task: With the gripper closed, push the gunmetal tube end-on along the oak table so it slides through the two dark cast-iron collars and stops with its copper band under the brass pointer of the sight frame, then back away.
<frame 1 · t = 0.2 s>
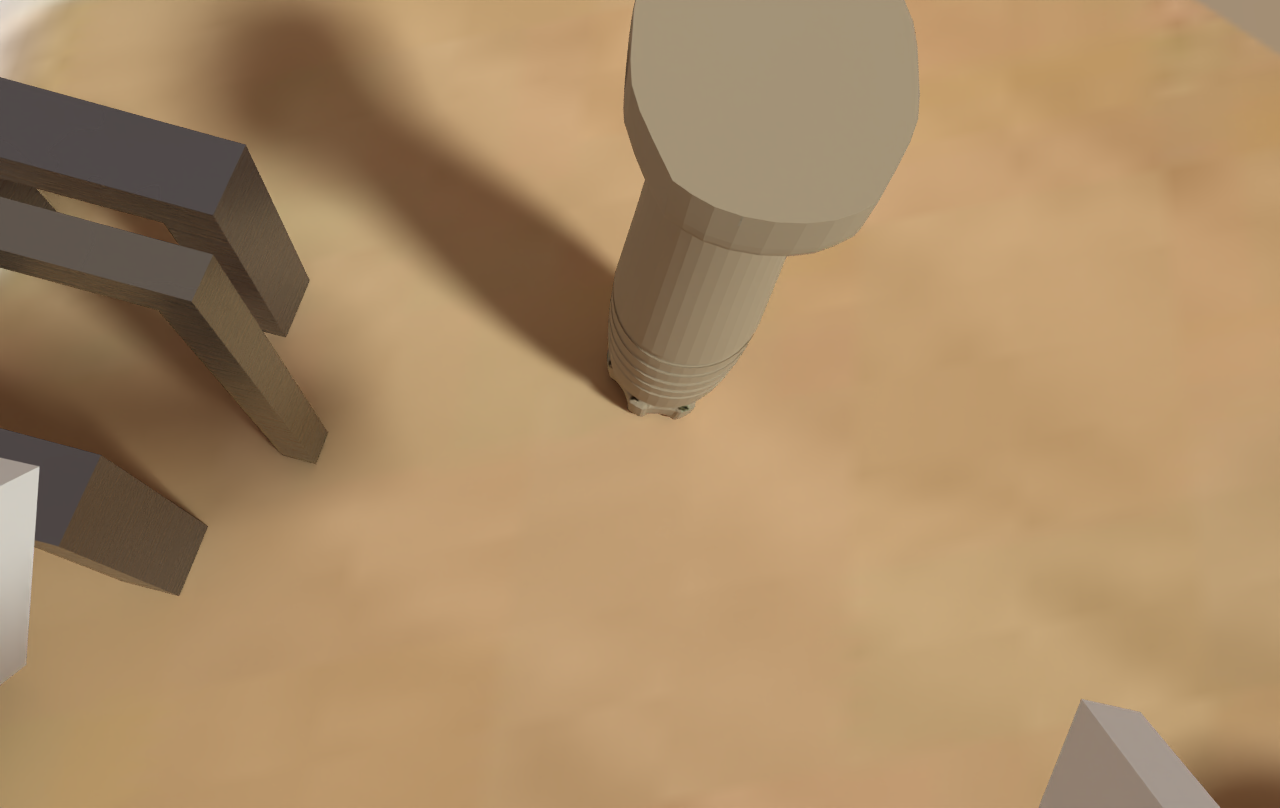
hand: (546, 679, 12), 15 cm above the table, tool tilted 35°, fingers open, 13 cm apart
sight frame: (87, 385, 28), on the table
handle: (657, 377, 30), on the table
collar b: (144, 266, 29), on the table
collar a: (23, 515, 26), on the table
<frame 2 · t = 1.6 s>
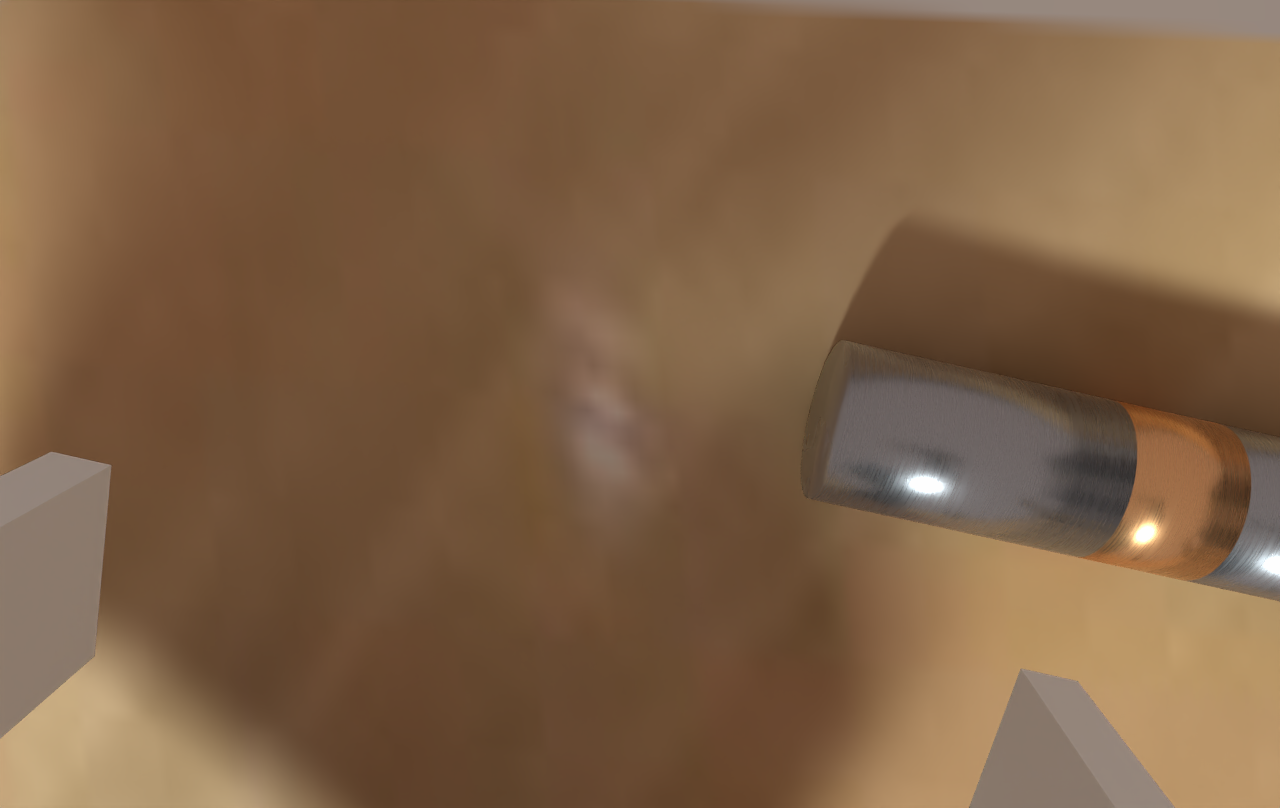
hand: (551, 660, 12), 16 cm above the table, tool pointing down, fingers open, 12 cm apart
tube: (1102, 482, 28), on the table, tilted 15°
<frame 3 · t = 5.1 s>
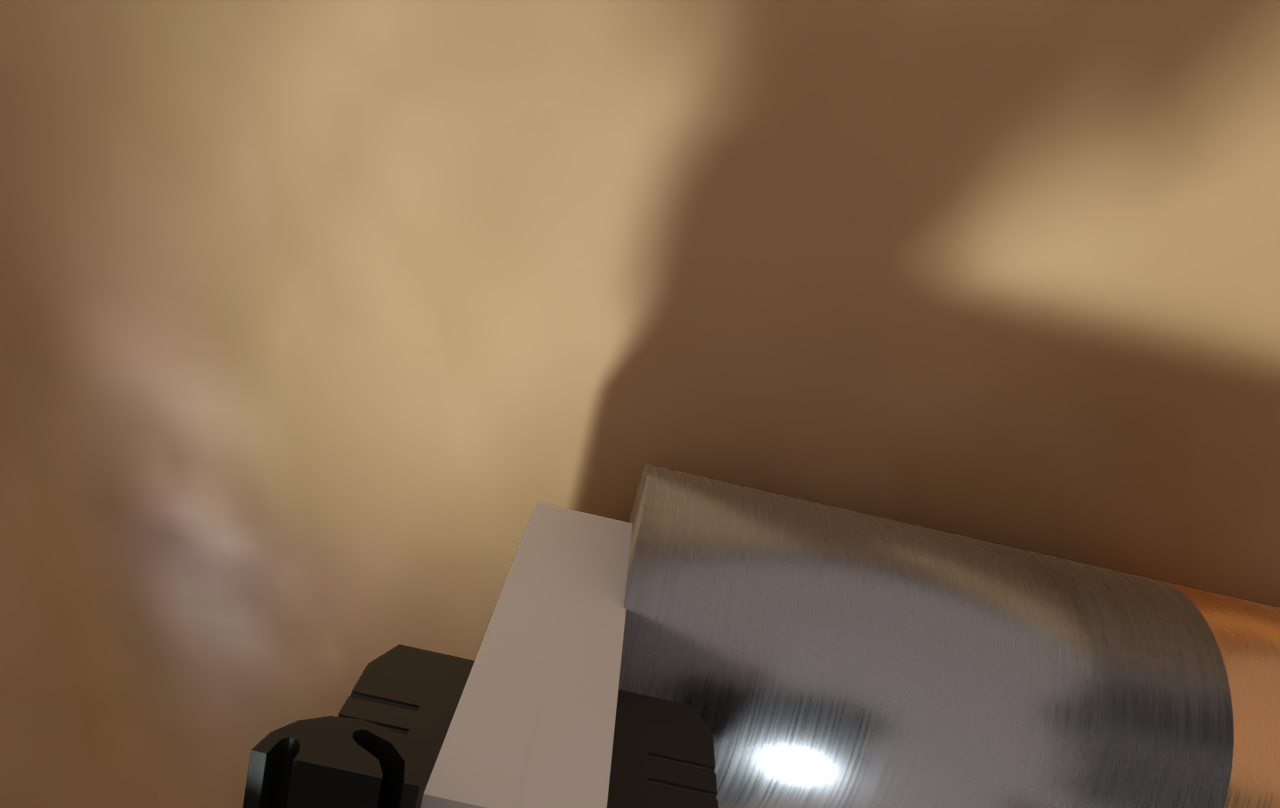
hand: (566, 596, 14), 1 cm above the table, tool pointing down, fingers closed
tube: (1147, 691, 16), on the table, tilted 9°, touching gripper
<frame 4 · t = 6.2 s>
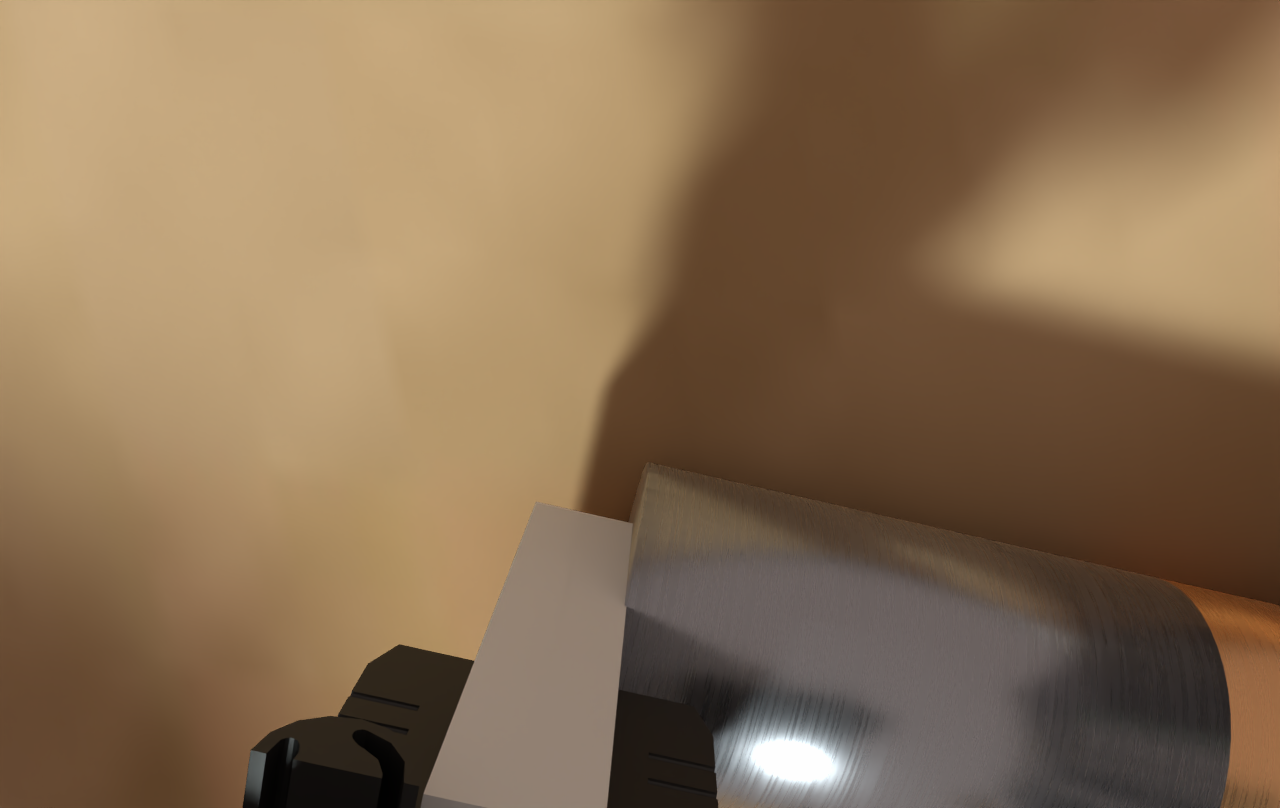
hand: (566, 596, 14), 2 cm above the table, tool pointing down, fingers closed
tube: (1145, 689, 16), on the table, tilted 9°, touching gripper
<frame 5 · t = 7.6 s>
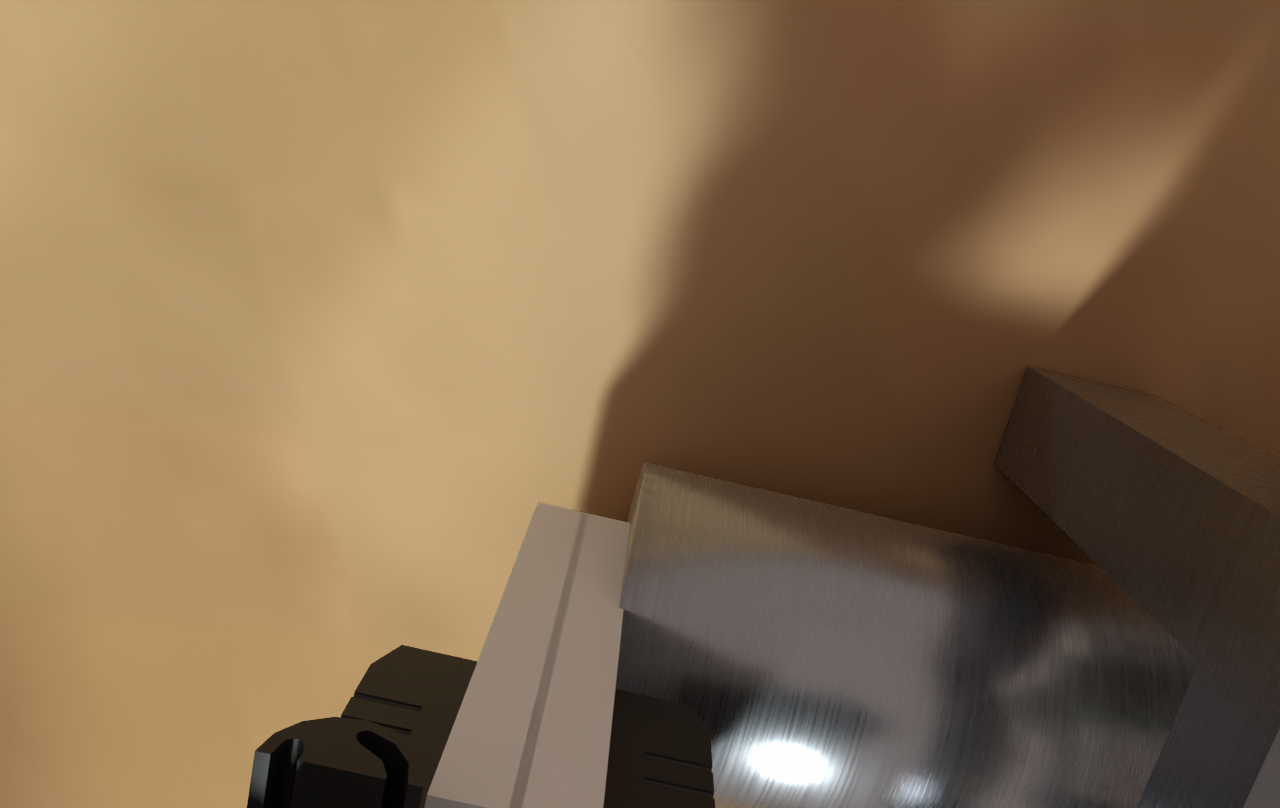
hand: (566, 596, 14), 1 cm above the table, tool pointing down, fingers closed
tube: (1147, 692, 16), on the table, tilted 9°, touching gripper
collar a: (990, 658, 16), on the table
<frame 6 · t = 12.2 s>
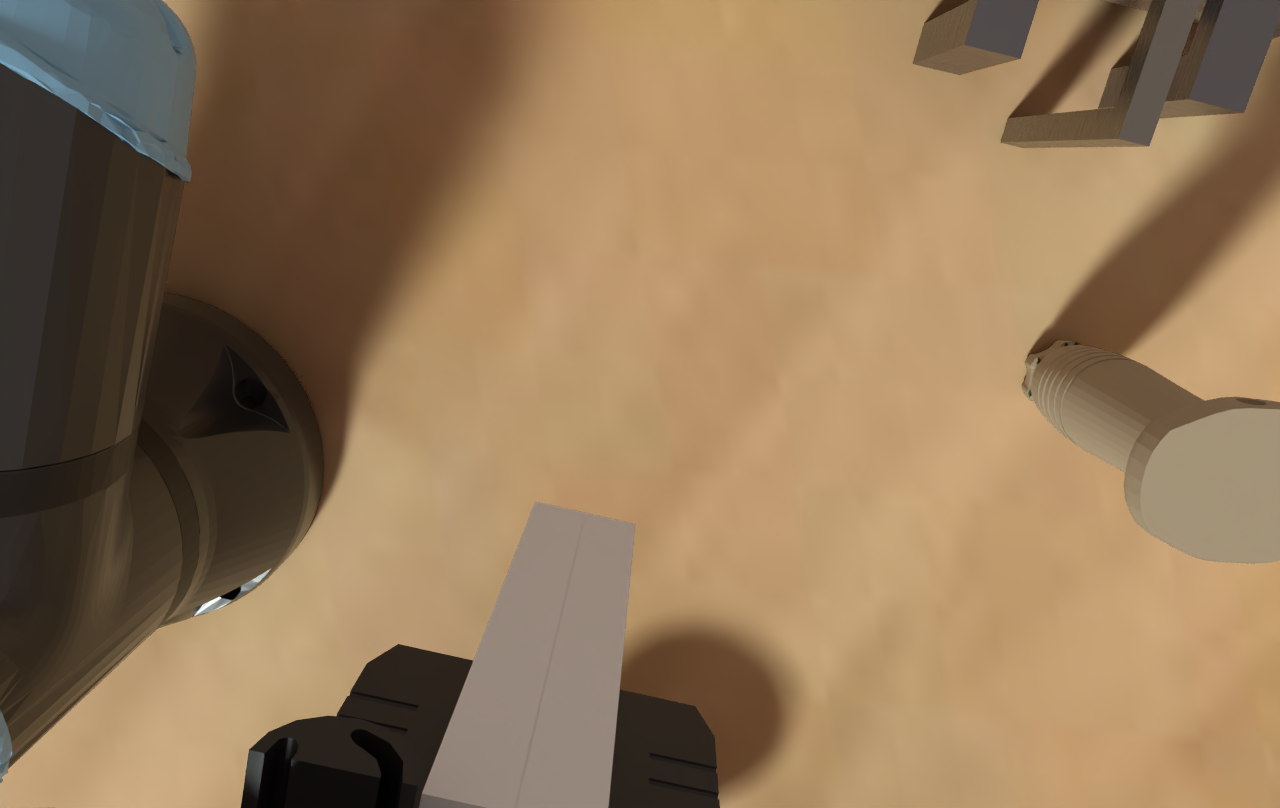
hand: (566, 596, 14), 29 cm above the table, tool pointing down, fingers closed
handle: (1053, 372, 43), on the table
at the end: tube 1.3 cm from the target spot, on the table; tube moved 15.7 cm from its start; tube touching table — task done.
